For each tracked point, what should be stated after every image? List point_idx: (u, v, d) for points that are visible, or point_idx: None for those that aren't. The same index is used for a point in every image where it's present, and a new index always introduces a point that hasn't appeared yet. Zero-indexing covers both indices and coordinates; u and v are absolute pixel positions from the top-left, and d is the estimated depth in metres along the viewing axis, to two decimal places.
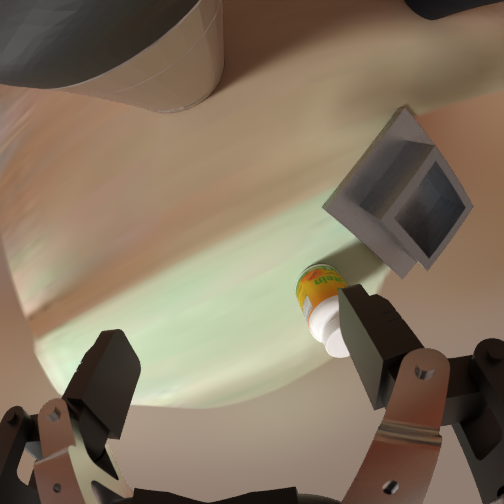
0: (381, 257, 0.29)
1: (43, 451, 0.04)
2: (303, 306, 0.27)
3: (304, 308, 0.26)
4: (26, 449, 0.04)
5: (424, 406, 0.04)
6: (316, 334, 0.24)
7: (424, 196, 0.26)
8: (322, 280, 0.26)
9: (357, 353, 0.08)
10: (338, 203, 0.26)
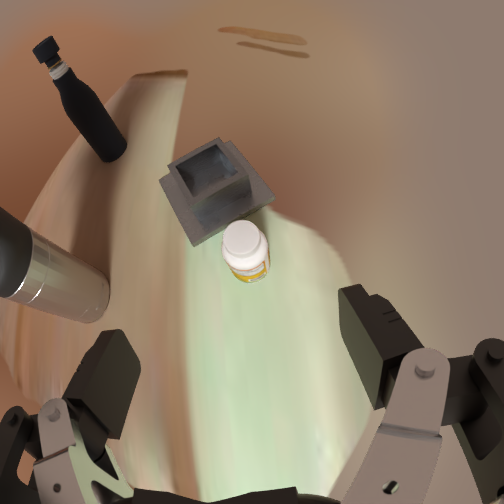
0: (245, 211, 0.40)
1: (43, 451, 0.04)
2: (238, 273, 0.34)
3: (237, 272, 0.34)
4: (26, 449, 0.04)
5: (424, 406, 0.04)
6: (242, 263, 0.31)
7: (215, 174, 0.43)
8: None
9: (357, 353, 0.08)
10: (191, 234, 0.40)
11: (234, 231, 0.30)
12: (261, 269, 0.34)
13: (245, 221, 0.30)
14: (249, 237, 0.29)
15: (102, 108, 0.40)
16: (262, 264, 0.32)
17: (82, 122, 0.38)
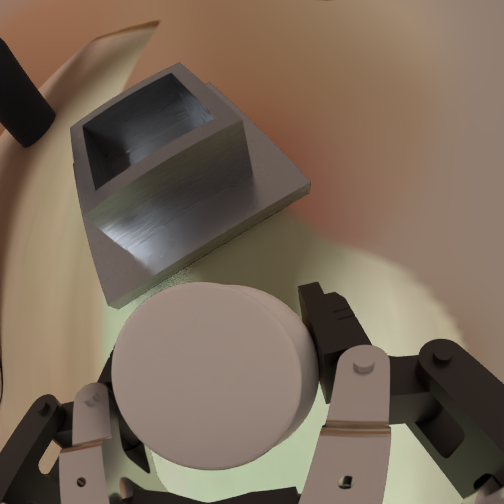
0: (236, 221, 0.16)
1: (73, 437, 0.04)
2: None
3: None
4: (57, 440, 0.05)
5: (368, 401, 0.05)
6: None
7: (173, 140, 0.19)
8: None
9: None
10: (108, 281, 0.15)
11: (160, 345, 0.05)
12: None
13: (219, 292, 0.05)
14: (241, 391, 0.05)
15: (12, 62, 0.16)
16: None
17: None
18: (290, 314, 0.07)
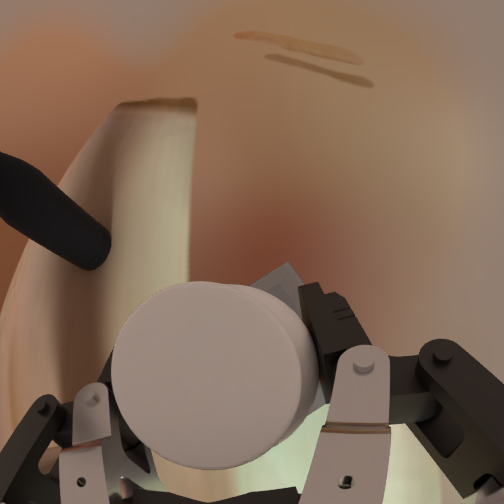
0: (322, 403, 0.23)
1: (73, 438, 0.04)
2: None
3: None
4: (56, 440, 0.05)
5: (368, 400, 0.05)
6: None
7: None
8: None
9: None
10: None
11: (160, 345, 0.05)
12: None
13: (219, 291, 0.05)
14: (241, 390, 0.05)
15: (57, 199, 0.23)
16: None
17: (27, 231, 0.21)
18: (290, 314, 0.07)
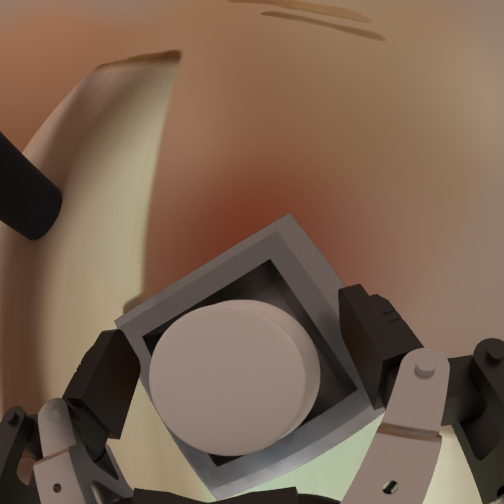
0: (345, 436, 0.13)
1: (43, 451, 0.04)
2: None
3: None
4: (26, 449, 0.04)
5: (424, 406, 0.04)
6: None
7: None
8: None
9: (357, 353, 0.08)
10: None
11: (192, 355, 0.06)
12: None
13: (241, 313, 0.07)
14: (259, 391, 0.06)
15: None
16: None
17: None
18: (296, 325, 0.09)
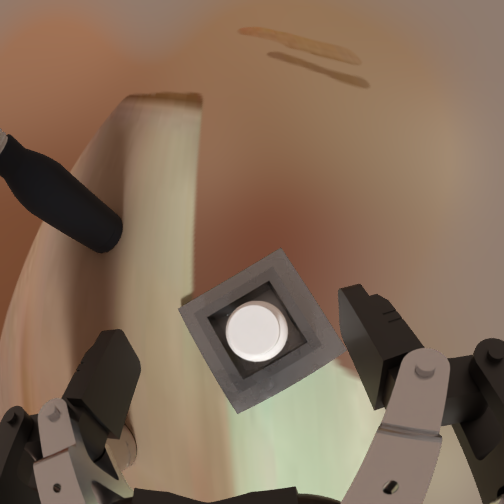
0: (308, 373, 0.28)
1: (43, 452, 0.04)
2: None
3: None
4: (26, 449, 0.04)
5: (424, 406, 0.04)
6: (254, 357, 0.22)
7: None
8: None
9: (357, 353, 0.08)
10: (235, 402, 0.28)
11: (243, 321, 0.21)
12: None
13: (259, 307, 0.21)
14: (265, 332, 0.20)
15: (77, 190, 0.26)
16: None
17: (49, 219, 0.25)
18: (278, 311, 0.23)
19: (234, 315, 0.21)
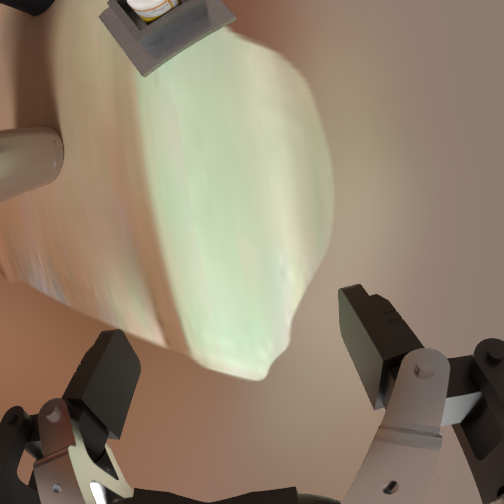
0: (201, 34, 0.26)
1: (43, 451, 0.04)
2: (145, 16, 0.21)
3: (143, 15, 0.21)
4: (26, 449, 0.04)
5: (424, 406, 0.04)
6: (145, 3, 0.18)
7: None
8: None
9: (357, 353, 0.08)
10: (140, 66, 0.27)
11: None
12: (168, 9, 0.21)
13: None
14: None
15: None
16: (167, 2, 0.20)
17: None
18: None
19: None
